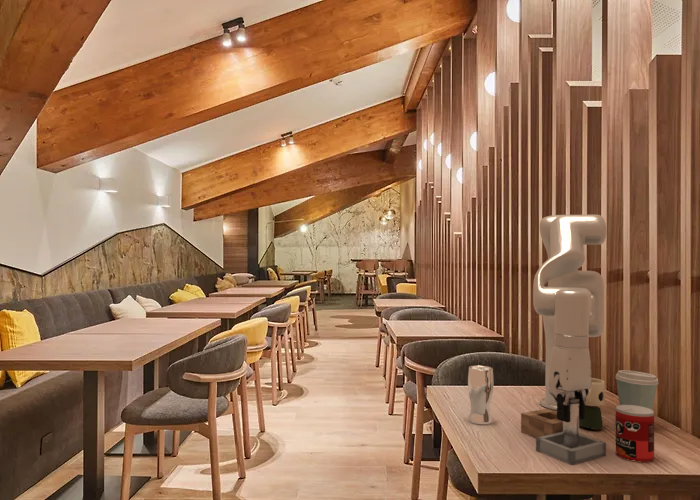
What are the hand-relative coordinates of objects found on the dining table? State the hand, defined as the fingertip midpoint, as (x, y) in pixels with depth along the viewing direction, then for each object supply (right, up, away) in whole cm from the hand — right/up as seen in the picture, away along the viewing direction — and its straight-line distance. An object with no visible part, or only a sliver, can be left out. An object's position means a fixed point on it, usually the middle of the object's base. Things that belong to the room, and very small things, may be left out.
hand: (570, 418), depth 124 cm
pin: (0, -7, 0) cm, 7 cm away
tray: (0, -8, 0) cm, 8 cm away
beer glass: (-16, -9, +23) cm, 29 cm away
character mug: (+13, -9, +19) cm, 25 cm away
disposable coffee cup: (+27, -9, +21) cm, 35 cm away
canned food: (+14, -9, -2) cm, 17 cm away
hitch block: (0, -8, +12) cm, 15 cm away
